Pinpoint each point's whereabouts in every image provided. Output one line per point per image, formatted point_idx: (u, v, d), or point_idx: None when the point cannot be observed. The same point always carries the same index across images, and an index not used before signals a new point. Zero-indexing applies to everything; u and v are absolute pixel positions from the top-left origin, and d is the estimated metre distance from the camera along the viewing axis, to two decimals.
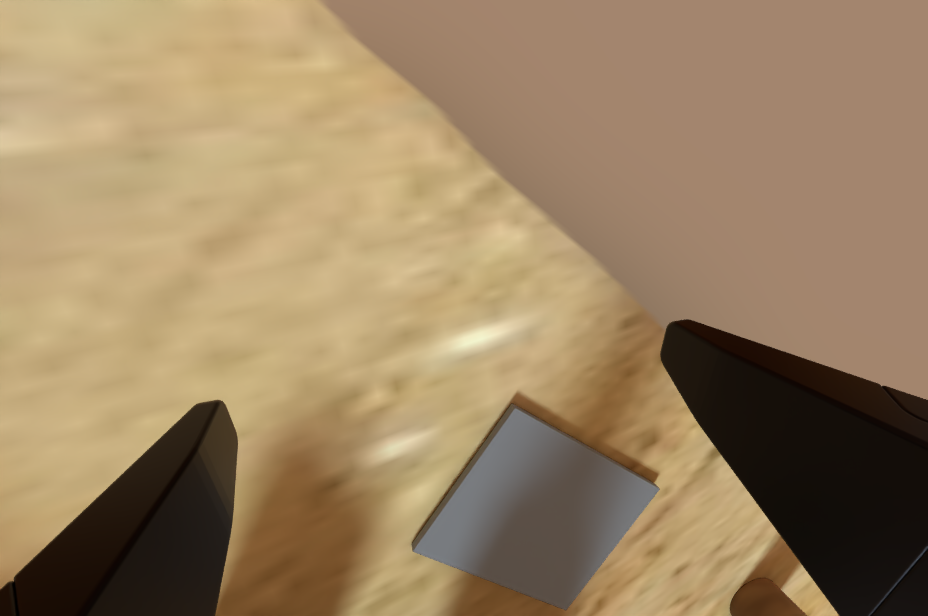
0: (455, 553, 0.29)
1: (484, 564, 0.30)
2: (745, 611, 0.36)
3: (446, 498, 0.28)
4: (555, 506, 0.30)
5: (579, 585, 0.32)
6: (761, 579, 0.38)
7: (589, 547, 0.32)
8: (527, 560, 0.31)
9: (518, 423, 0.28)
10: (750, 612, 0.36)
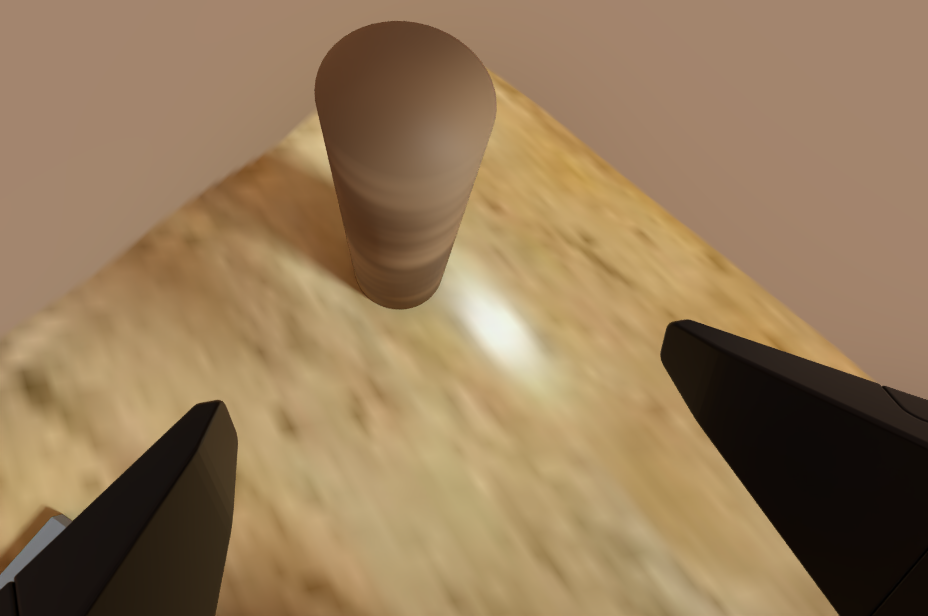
0: None
1: None
2: (383, 299, 0.21)
3: None
4: None
5: None
6: None
7: None
8: None
9: None
10: (376, 295, 0.21)
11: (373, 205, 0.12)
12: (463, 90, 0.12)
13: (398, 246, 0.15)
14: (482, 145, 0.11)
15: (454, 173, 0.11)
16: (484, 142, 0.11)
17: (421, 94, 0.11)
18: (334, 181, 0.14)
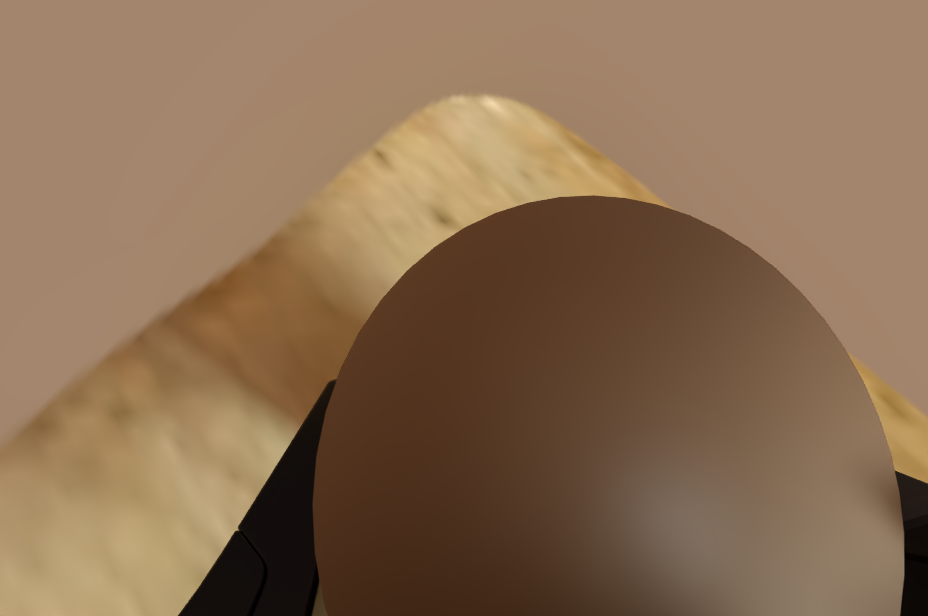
0: None
1: None
2: None
3: None
4: None
5: None
6: None
7: None
8: None
9: None
10: None
11: None
12: (793, 432, 0.04)
13: None
14: None
15: None
16: None
17: (671, 467, 0.03)
18: None
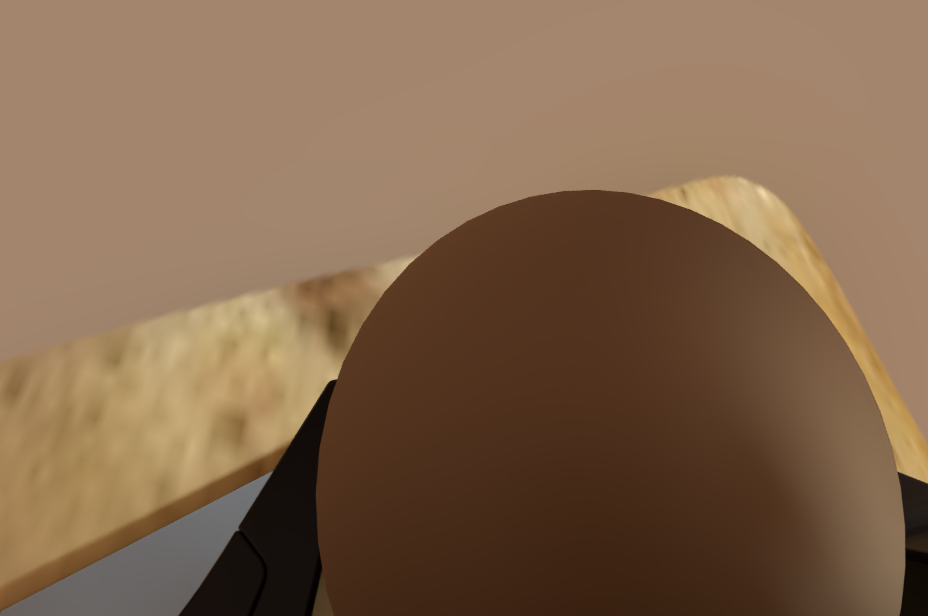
0: None
1: None
2: None
3: None
4: None
5: None
6: None
7: None
8: None
9: None
10: None
11: None
12: (795, 425, 0.04)
13: None
14: None
15: None
16: None
17: (674, 460, 0.03)
18: None
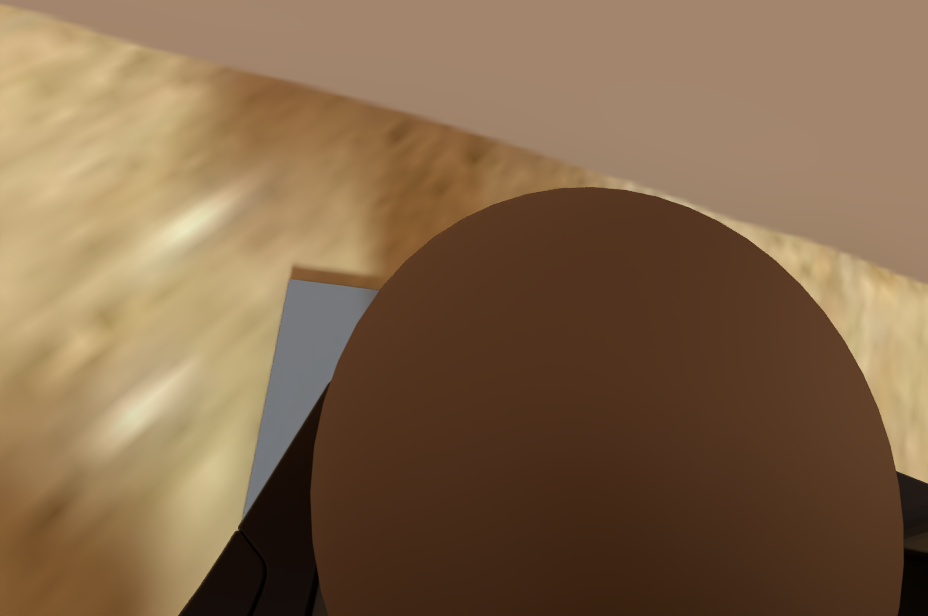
0: None
1: None
2: None
3: None
4: None
5: None
6: None
7: None
8: None
9: (306, 298, 0.19)
10: None
11: None
12: (793, 422, 0.04)
13: None
14: None
15: None
16: None
17: (671, 458, 0.03)
18: None
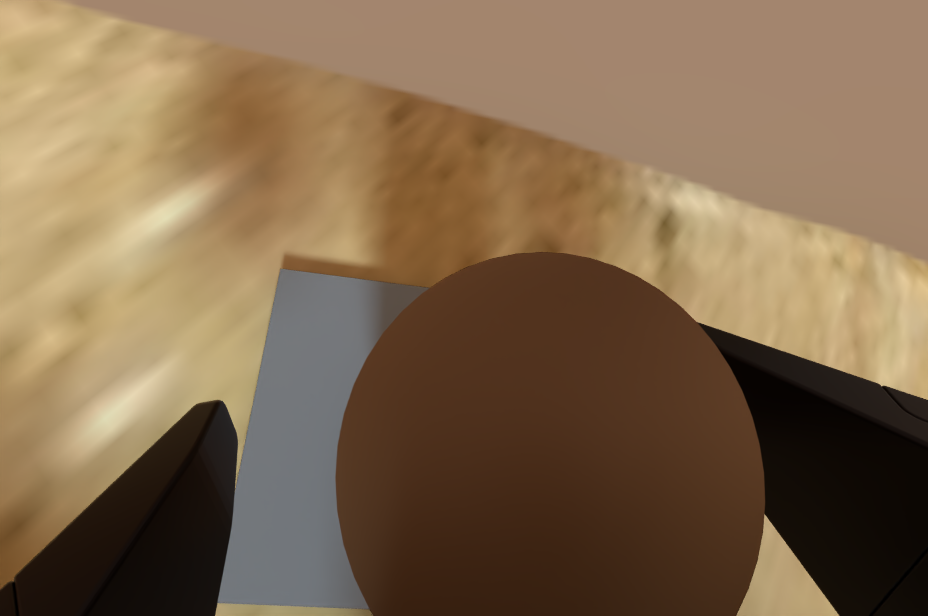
0: (304, 573, 0.15)
1: None
2: None
3: None
4: None
5: None
6: None
7: None
8: None
9: (299, 290, 0.17)
10: None
11: None
12: (685, 428, 0.05)
13: None
14: (747, 587, 0.05)
15: None
16: (748, 573, 0.05)
17: (593, 454, 0.05)
18: None
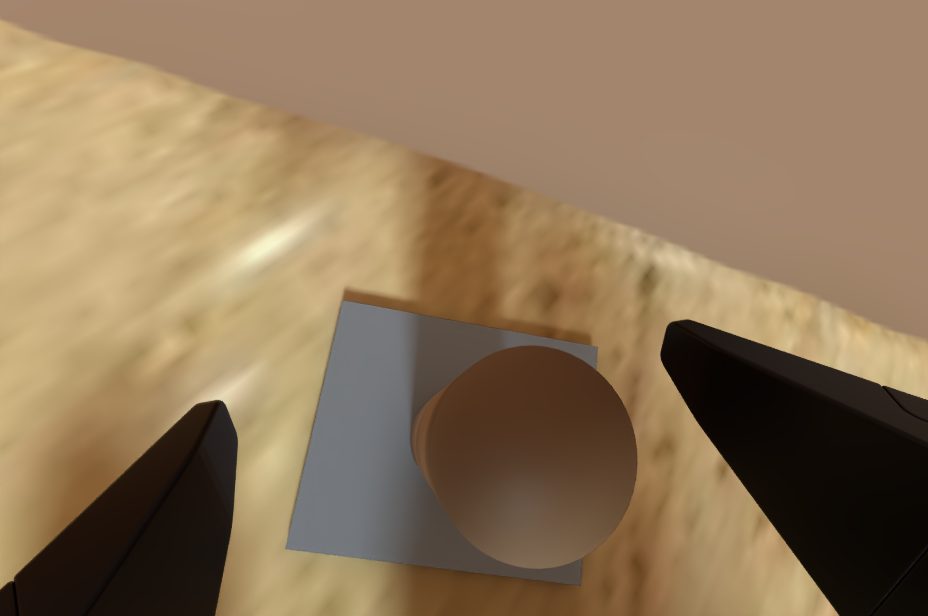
0: (352, 533, 0.20)
1: (406, 539, 0.20)
2: None
3: None
4: None
5: None
6: (411, 429, 0.21)
7: None
8: None
9: (356, 317, 0.22)
10: None
11: None
12: (599, 439, 0.10)
13: None
14: (622, 517, 0.09)
15: (586, 546, 0.10)
16: (624, 511, 0.10)
17: (551, 449, 0.10)
18: (427, 476, 0.12)
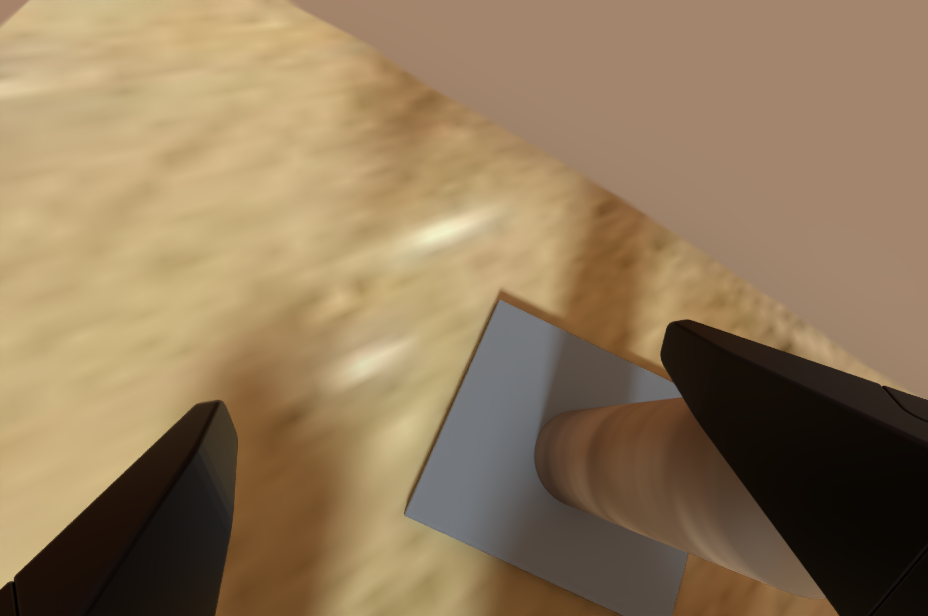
0: (466, 519, 0.21)
1: (513, 539, 0.21)
2: (564, 500, 0.20)
3: (440, 432, 0.22)
4: None
5: (671, 582, 0.21)
6: (538, 437, 0.22)
7: None
8: (576, 532, 0.21)
9: (508, 318, 0.23)
10: (561, 498, 0.20)
11: (699, 551, 0.11)
12: None
13: None
14: None
15: None
16: None
17: None
18: (642, 483, 0.13)
